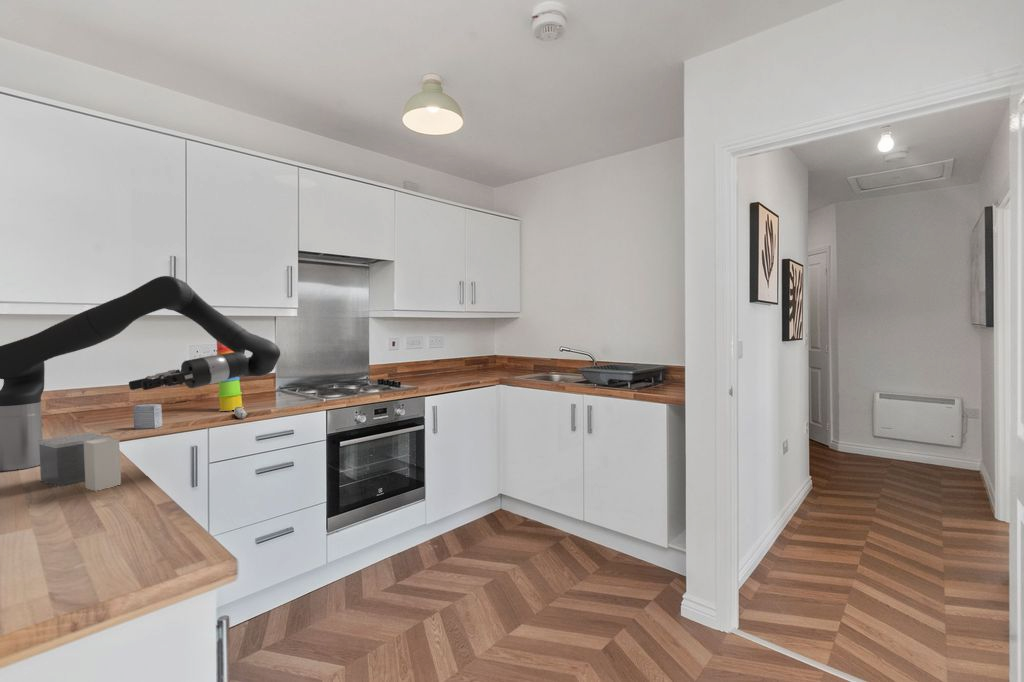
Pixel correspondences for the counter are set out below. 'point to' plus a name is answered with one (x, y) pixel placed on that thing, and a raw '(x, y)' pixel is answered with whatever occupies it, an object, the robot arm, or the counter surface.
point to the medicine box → (147, 416)
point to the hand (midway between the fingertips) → (135, 385)
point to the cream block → (102, 463)
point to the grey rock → (240, 412)
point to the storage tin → (64, 458)
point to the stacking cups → (228, 386)
